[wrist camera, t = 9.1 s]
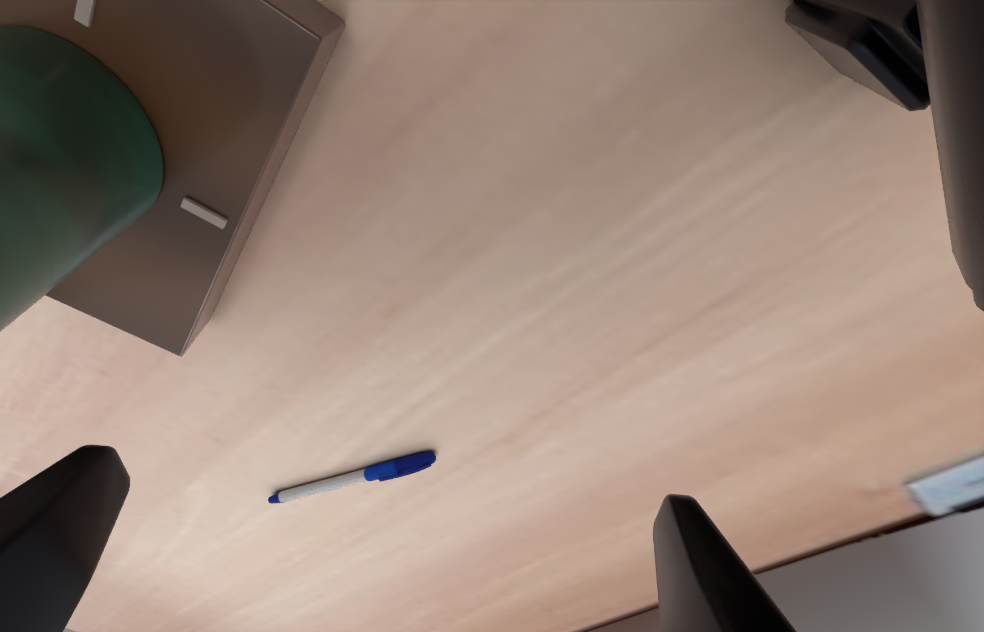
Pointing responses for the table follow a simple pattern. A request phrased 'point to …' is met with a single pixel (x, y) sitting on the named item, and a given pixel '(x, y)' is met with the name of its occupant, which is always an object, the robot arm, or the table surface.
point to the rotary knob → (64, 163)
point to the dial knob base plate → (191, 141)
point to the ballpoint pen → (360, 477)
